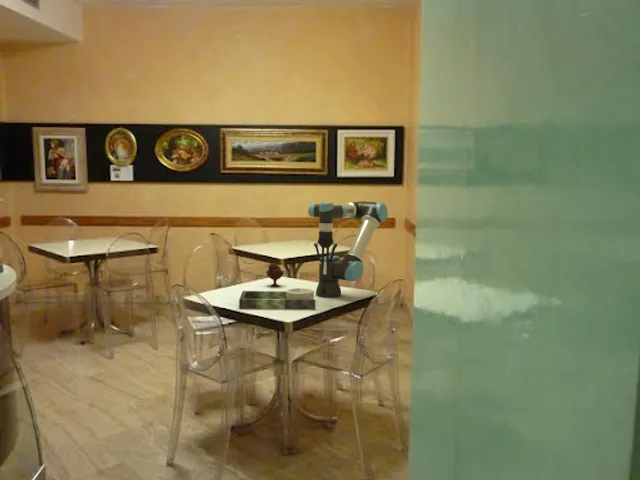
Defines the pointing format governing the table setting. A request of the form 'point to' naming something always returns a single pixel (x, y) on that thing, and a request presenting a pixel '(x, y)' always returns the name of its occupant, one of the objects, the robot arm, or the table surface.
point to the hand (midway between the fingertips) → (324, 273)
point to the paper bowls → (299, 293)
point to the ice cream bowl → (274, 273)
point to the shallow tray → (272, 301)
